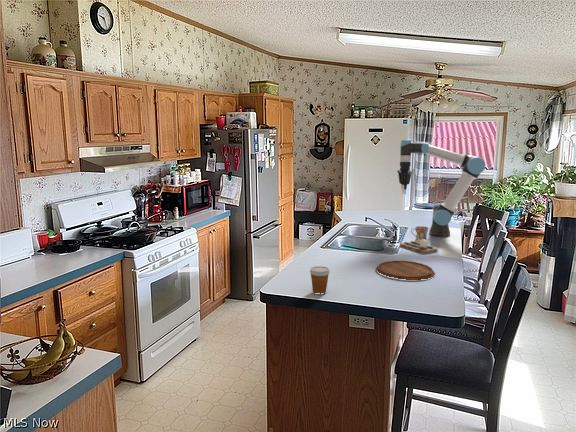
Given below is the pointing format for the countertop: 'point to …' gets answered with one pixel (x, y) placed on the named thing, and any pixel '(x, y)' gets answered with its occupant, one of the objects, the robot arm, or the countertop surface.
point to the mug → (420, 233)
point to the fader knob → (424, 243)
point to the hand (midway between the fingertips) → (403, 193)
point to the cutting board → (405, 270)
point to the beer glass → (319, 278)
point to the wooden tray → (418, 247)
